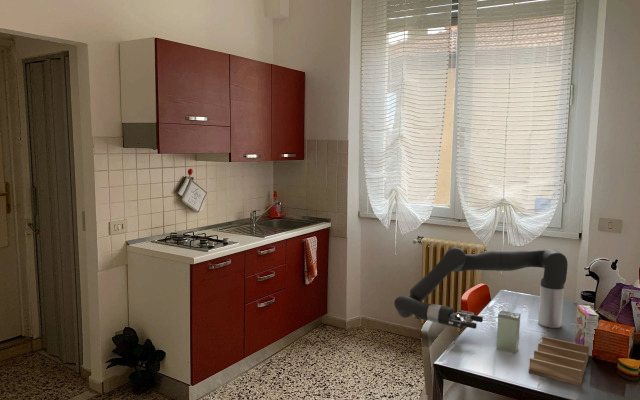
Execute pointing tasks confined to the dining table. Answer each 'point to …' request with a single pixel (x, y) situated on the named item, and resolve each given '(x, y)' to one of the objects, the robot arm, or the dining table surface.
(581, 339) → the candy bar box
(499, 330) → the tea tin
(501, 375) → the dining table surface
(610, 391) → the dining table surface
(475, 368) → the dining table surface
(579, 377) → the plate rack
